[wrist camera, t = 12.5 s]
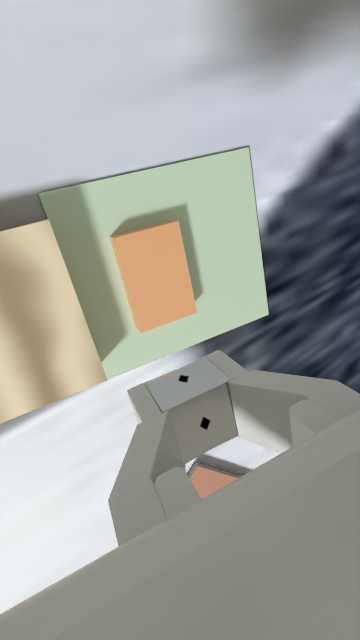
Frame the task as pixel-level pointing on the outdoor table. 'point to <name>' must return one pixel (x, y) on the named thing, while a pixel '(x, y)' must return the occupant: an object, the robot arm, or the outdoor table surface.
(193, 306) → the orange rectangular block
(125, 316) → the mat
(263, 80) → the outdoor table surface
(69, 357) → the plate
